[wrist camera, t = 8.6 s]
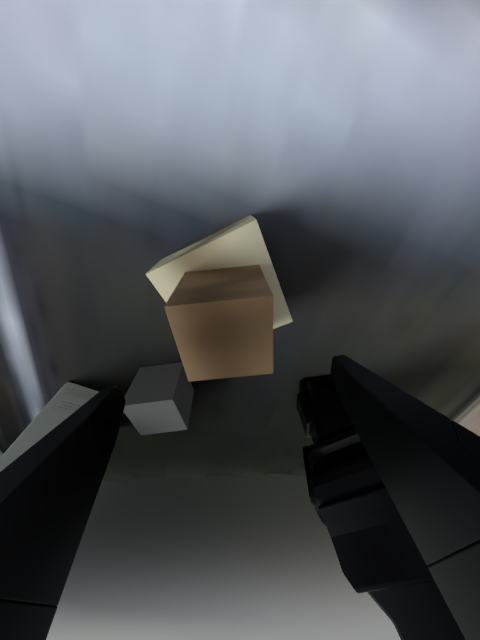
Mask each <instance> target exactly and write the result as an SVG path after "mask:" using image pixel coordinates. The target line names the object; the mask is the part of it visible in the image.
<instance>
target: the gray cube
mask: <svg viewBox="0 0 480 640" xmlns="http://www.w3.org/2000/svg"><path fill="white" fill-rule="evenodd" d="M193 395H194V389H193V386H192V384H191V381H190V382H188V378H187V375H186V372H185V369H184V366H183V363H182V362H178V363H171V364H163V365H156V366H148V367H141V368H139V370H138V372H137V374H136V376H135V378H134V380H133V382H132V384H131V385H130V387H129V389H128V391H127V393H126V395H125V399H126V403H125V408H124V413H125V414H126V416H127V417H128V419H129V420H130V421H131V423H132V424H133V425H134V427H135V428H136V429H137V431H138V432H139V433H140V435H148V434H155V433H163V432H171V431H179V430H187V429H188V423H189V418H190V412H191V406H192V401H193Z"/></svg>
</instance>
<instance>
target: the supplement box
mask: <svg viewBox="0 0 480 640" xmlns="http://www.w3.org/2000/svg"><path fill="white" fill-rule="evenodd" d="M98 392H99V391H96V390H93V389H90V388H87V387H83V386H80V385H77V384H74V383H70V382H67V383H65V385H64V386H63V387H62V388H61V389H60V390H59V391H58V392H57V393H56V395H55V396H54V397H53V398H52V399H51V400H50V401H49V403H48V404H47V405H46V406H45V407H44V408H43V410H42V411H41V412H40V413H39V414H38V415H37V416H36V417H35V419H34V420H33V421H32V422H31V423H30V424H29V425H28V427H27V428H26V429H25V430H24V431H23V432H22V433H21V435H20V436H19V437H18V438H17V439H16V440H15V442H14V443H13V444H12V445H11V446H10V447H9V448H8V450H7V451H6V452H5V453H4V454H3V455H2V456H1V458H0V472H1V471H2V470H3V469H4V468H6V467H7V466H8V465H9V464H10V463H12V462H13V461H14V460H15V459H17V458H18V457H19V456H20V455H22V454H23V453H24V452H25V451H27V450H28V449H29V448H30V447H32V446H33V445H34V444H35V443H36V442H38V441H39V440H40V439H41V438H43V437H44V436H45V435H46V434H48V433H49V432H50V431H51V430H53V429H54V428H55V427H56V426H58V425H59V424H60V423H61V422H62V421H64V420H65V419H66V418H67V417H69V416H70V415H71V414H72V413H74V412H75V411H76V410H77V409H79V408H80V407H81V406H82V405H84V404H85V403H86V402H87V401H88V400H90V399H91V398H92V397H93V396H95V395H96V394H97V393H98ZM123 413H124V412H123Z"/></svg>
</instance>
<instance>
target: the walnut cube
mask: <svg viewBox="0 0 480 640" xmlns="http://www.w3.org/2000/svg"><path fill="white" fill-rule="evenodd" d="M164 307H165V311H166V314H167V317H168V320H169V323H170V326H171V329H172V332H173V335H174V338H175V341H176V345H177V348H178V351H179V354H180V357H181V360H182V363H183V366H184V369H185V372H186V375H187V378H188V382H190V381H200V380H210V379H221V378H231V377H241V376H251V375H262V374H272V373H273V294H272V292H271V290H270V288H269V285H268V283H267V281H266V279H265V277H264V275H263V272H262V270H261V268H260V266H259V265H252V266H242V267H232V268H222V269H212V270H202V271H192V272H185V273H184V275H183V276H182V278H181V280H180V281H179V283H178V285H177V286H176V288H175V290H174V291H173V293H172V295H171V296H170V298H169V299H168V301H167V303H166V304H165V306H164Z"/></svg>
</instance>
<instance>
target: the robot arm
mask: <svg viewBox="0 0 480 640" xmlns="http://www.w3.org/2000/svg"><path fill="white" fill-rule="evenodd" d="M125 403H126V399H125V397H124V395H123V394H122V392H121V391H120V390H119V388H118V387H117V386H109V387H105V388H103V389H102V390H101V391H100V392H98V393H97V394H96V395H95V396H93V397H92V398H91V399H90V400H88V401H87V402H86V403H85V404H84V405H82V406H81V407H80V408H79V409H77V410H76V411H75V412H74V413H72V414H71V415H70V416H69V417H67V418H66V419H65V420H64V421H62V422H61V423H60V424H59V425H58V426H56V427H55V428H54V429H53V430H51V431H50V432H49V433H48V434H46V435H45V436H44V437H43V438H41V439H40V440H39V441H38V442H36V443H35V444H34V445H33V446H32V447H30V448H29V449H28V450H27V451H25V452H24V453H23V454H22V455H20V456H19V457H18V458H17V459H15V460H14V461H13V462H12V463H10V464H9V465H8V466H7V467H6V468H4V469H3V470H2V471H1V472H0V640H46V638H47V634H48V632H49V629H50V626H51V623H52V621H53V618H54V615H55V612H56V610H57V605H58V603H59V601H60V597H61V595H62V592H63V589H64V586H65V584H66V581H67V578H68V575H69V572H70V570H71V566H72V564H73V561H74V558H75V555H76V553H77V550H78V547H79V544H80V541H81V538H82V536H83V533H84V530H85V527H86V524H87V521H88V519H89V515H90V513H91V510H92V507H93V505H94V502H95V499H96V496H97V493H98V491H99V488H100V485H101V482H102V479H103V476H104V474H105V471H106V468H107V465H108V462H109V460H110V457H111V454H112V451H113V448H114V445H115V442H116V439H117V435H118V431H119V428H120V424H121V420H122V416H123V412H124V408H125ZM297 409H298V413H299V416H300V419H301V422H302V425H303V428H304V431H305V434H306V436H307V437H312V440H313V443H314V444H313V445H310V446H305V447H303V454H304V456H303V457H304V464H305V470H306V477H307V483H308V489H309V496H310V500H311V503H312V505H313V506H314V507H315V509H316V511H317V513H318V515H319V517H320V519H321V521H322V522H323V524H324V525H325V526H326V527H327V529H328V531H329V534H330V536H331V539H332V542H333V544H334V547H335V550H336V553H337V556H338V559H339V562H340V565H341V568H342V571H343V573H344V575H345V576H346V577H347V579H348V581H349V582H350V584H351V585H352V586H353V588H354V589H355V591H356V592H357V593H364V592H368V594H369V595H370V596H371V597H372V598H373V599H374V601H375V602H376V603H377V604H378V605H379V606H380V607H381V609H382V610H383V611H384V612H385V613H386V615H387V616H388V617H389V618H390V619H391V620H392V622H393V624H394V625H395V627H396V629H397V632H398V634H399V636H400V638H401V640H480V436H478V435H476V434H475V433H473V432H471V431H469V430H468V429H466V428H464V427H463V426H461V425H459V424H458V423H456V422H455V421H451V420H450V419H449V418H448V417H446V416H444V415H443V414H441V413H439V412H438V411H436V410H434V409H433V408H431V407H430V406H428V405H426V404H425V403H423V402H421V401H420V400H418V399H416V398H415V397H413V396H411V395H410V394H408V393H406V392H405V391H403V390H401V389H400V388H398V387H396V386H395V385H393V384H391V383H390V382H388V381H386V380H385V379H383V378H382V377H380V376H378V375H377V374H375V373H373V372H372V371H370V370H368V369H367V368H365V367H363V366H362V365H360V364H358V363H357V362H355V361H353V360H352V359H350V358H348V357H347V356H345V355H339V356H334V357H333V359H332V365H331V376H325V377H318V378H310V379H303V380H301V381H300V383H299V393H298V394H297Z"/></svg>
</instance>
